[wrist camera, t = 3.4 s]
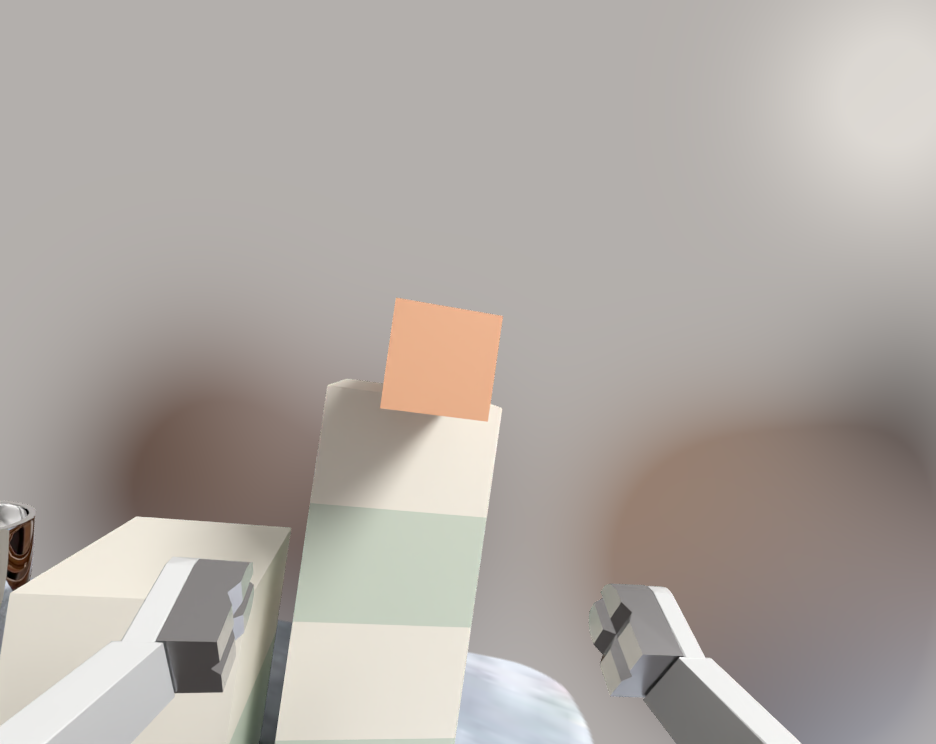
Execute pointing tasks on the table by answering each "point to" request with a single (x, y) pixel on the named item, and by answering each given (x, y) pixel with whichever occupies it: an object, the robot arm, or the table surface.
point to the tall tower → (387, 573)
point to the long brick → (441, 360)
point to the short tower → (116, 604)
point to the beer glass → (14, 551)
